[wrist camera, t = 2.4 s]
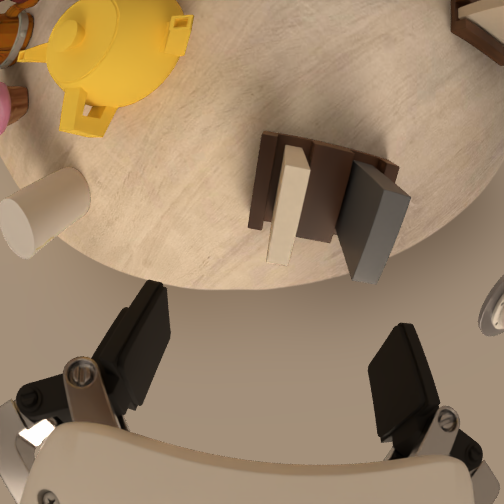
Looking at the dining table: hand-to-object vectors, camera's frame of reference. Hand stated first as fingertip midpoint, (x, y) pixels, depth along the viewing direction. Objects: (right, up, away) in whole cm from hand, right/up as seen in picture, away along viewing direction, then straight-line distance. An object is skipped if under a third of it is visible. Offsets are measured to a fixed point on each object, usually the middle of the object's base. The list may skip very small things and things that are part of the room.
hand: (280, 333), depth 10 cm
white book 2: (+27, +30, +3) cm, 41 cm away
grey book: (+10, +9, +18) cm, 22 cm away
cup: (-28, +12, +23) cm, 38 cm away
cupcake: (-37, +27, +15) cm, 49 cm away
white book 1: (+3, +11, +18) cm, 21 cm away
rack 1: (+6, +10, +19) cm, 22 cm away
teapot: (-15, +27, +12) cm, 33 cm away
